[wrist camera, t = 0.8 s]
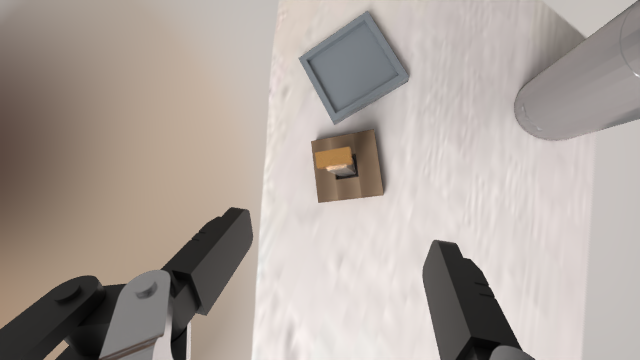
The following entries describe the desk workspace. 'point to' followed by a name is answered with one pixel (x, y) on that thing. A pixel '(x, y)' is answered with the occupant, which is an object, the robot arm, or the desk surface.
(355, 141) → the socket plate
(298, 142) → the desk surface
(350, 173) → the key
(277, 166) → the desk surface
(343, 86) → the tray
